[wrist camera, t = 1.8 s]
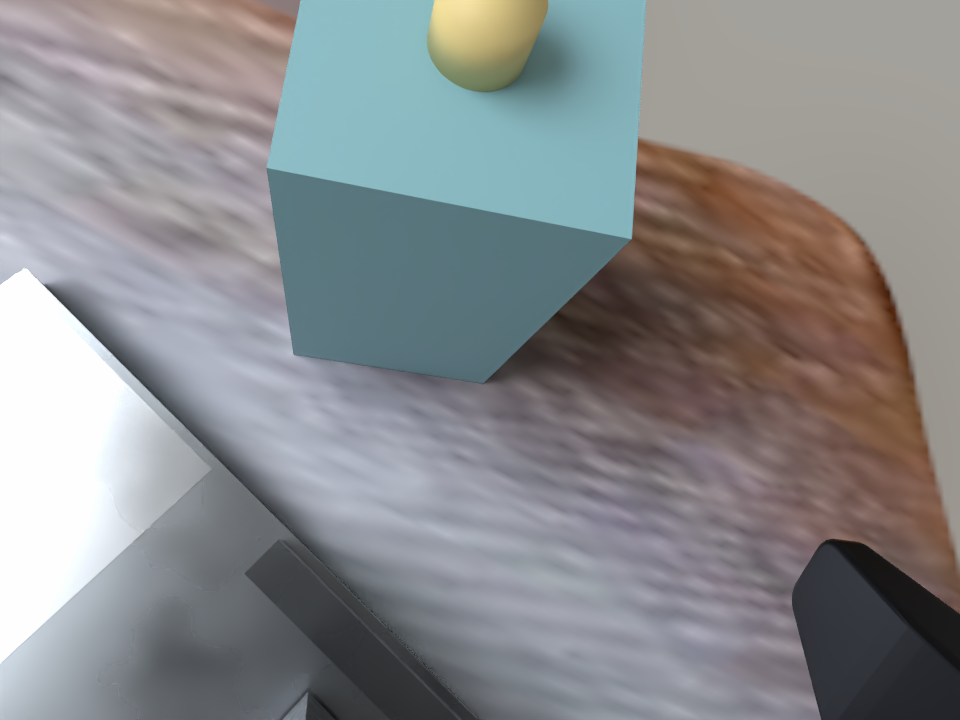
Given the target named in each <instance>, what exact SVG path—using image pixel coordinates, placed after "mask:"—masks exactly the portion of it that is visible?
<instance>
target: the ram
mask: <svg viewBox="0 0 960 720" xmlns="http://www.w3.org/2000/svg"><path fill="white" fill-rule="evenodd" d="M283 720H335V719H334V718H333V717H332V716H331V715H330V714H329V713H328V712H327V711H326V710H325V709H324V708H323V707H322V706H321V705H320V704H319V703H318V702H317V701H316V700H315V699H314V698H313V697H312V696H311V695H310V694H309V693H308V692H307V694H306V695H305V696H304V697H303V698H302V699H301V700H300V701H299V702H298V703H297V704H296V706H295V707H294V708H293V709H292V710H291V711H290V712H289V713H288V714H287V715H286V716H285V718H284V719H283Z"/></svg>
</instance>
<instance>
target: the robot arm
mask: <svg viewBox="0 0 960 720" xmlns="http://www.w3.org/2000/svg"><path fill="white" fill-rule="evenodd" d="M792 607H793V611H794V615H795V619H796V623H797V627H798V631H799V635H800V639H801V642H802V646H803V650H804V654H805V658H806V662H807V666H808V670H809V673H810V677H811V681H812V685H813V689H814V693H815V697H816V701H817V704H818V708H819V712H820V716H821V719H822V720H960V614H959V613H958V612H956V611H955V610H954V609H952V608H951V607H950V606H948V605H947V604H946V603H944V602H943V601H942V600H940V599H939V598H937V597H936V596H935V595H933V594H932V593H931V592H929V591H928V590H927V589H925V588H924V587H922V586H921V585H920V584H918V583H917V582H916V581H914V580H913V579H912V578H910V577H909V576H907V575H906V574H905V573H903V572H902V571H901V570H899V569H898V568H897V567H895V566H894V565H892V564H891V563H890V562H888V561H887V560H886V559H884V558H883V557H882V556H880V555H879V554H877V553H876V552H875V551H873V550H872V549H871V548H869V547H868V546H866V545H864V544H862V543H859V542H854V541H846V540H839V539H829V540H826V541H825V542H823V543H822V544H821V545H820V546H819V547H818V549H817V550H816V552H815V553H814V555H813V557H812V558H811V560H810V561H809V563H808V565H807V566H806V568H805V569H804V571H803V573H802V574H801V576H800V577H799V579H798V581H797V582H796V584H795V586H794V589H793V593H792Z"/></svg>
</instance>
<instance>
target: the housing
mask: <svg viewBox="0 0 960 720" xmlns="http://www.w3.org/2000/svg"><path fill="white" fill-rule="evenodd" d="M645 11H646V0H301V2H300V7H299V12H298V17H297V22H296V26H295V31H294V36H293V41H292V46H291V51H290V56H289V61H288V66H287V71H286V76H285V80H284V85H283V90H282V95H281V100H280V105H279V110H278V115H277V120H276V125H275V130H274V134H273V139H272V144H271V149H270V154H269V159H268V164H267V174H268V181H269V187H270V194H271V201H272V208H273V215H274V222H275V229H276V236H277V243H278V250H279V257H280V264H281V271H282V278H283V285H284V291H285V298H286V305H287V312H288V319H289V326H290V333H291V340H292V347H293V354H294V355H301V356H307V357H314V358H320V359H327V360H333V361H340V362H346V363H353V364H359V365H366V366H372V367H378V368H385V369H391V370H398V371H404V372H411V373H417V374H424V375H430V376H437V377H443V378H450V379H456V380H463V381H469V382H476V383H482V384H483V383H484V382H485V381H486V380H487V379H488V378H489V377H490V376H491V375H493V374H494V373H495V372H496V371H497V370H498V369H499V368H500V367H501V366H502V365H503V364H504V363H505V362H506V361H507V360H508V359H509V358H510V357H511V356H512V355H513V354H514V353H515V352H516V351H517V350H518V349H519V348H520V347H521V346H522V345H523V344H524V343H525V342H526V341H527V340H529V339H530V338H531V337H532V336H533V335H534V334H535V333H536V332H537V331H538V330H539V329H540V328H541V327H542V326H543V325H544V324H545V323H546V322H547V321H548V320H549V319H550V318H551V317H552V316H553V315H554V314H555V313H556V312H557V311H558V310H559V309H560V308H561V307H562V306H564V305H565V304H566V303H567V302H568V301H569V300H570V299H571V298H572V297H573V296H574V295H575V294H576V293H577V292H578V291H579V290H580V289H581V288H582V287H583V286H584V285H585V284H586V283H587V282H588V281H589V280H590V279H591V278H592V277H593V276H594V275H595V274H596V273H597V272H599V271H600V270H601V269H602V268H603V267H604V266H605V265H606V264H607V263H608V262H609V261H610V260H611V259H612V258H613V257H614V256H615V255H616V254H617V253H618V252H619V251H620V250H621V249H622V248H623V247H624V246H625V245H626V244H627V243H628V242H629V241H630V240H631V239H632V227H633V211H634V194H635V177H636V161H637V144H638V128H639V111H640V94H641V77H642V61H643V45H644V27H645Z"/></svg>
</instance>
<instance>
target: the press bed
mask: <svg viewBox="0 0 960 720" xmlns="http://www.w3.org/2000/svg"><path fill="white" fill-rule="evenodd" d="M307 692H308V693H309V694H310V695H311V696H312V697H313V698H314V699H315V700H316V701H317V702H318V703H319V704H320V705H321V706H322V707H323V708H324V709H325V710H326V711H327V712H328V713H329V714H330V715H331V716H332V717H333V718H334V719H335V720H479V719H478V718H477V717H476V716H475V715H474V714H473V713H472V712H471V711H470V710H469V709H468V708H467V707H466V706H465V705H464V704H463V703H462V702H461V701H460V700H459V699H458V698H457V697H456V696H455V695H454V694H453V693H452V692H451V691H450V690H449V689H448V688H447V687H446V686H445V685H444V684H443V683H442V682H441V681H440V680H439V679H438V678H437V677H436V676H435V675H434V674H433V673H432V672H431V671H430V670H429V669H428V668H427V667H426V666H425V665H424V664H423V663H422V662H421V661H420V660H419V659H418V658H417V657H416V656H415V655H414V654H413V653H412V652H411V651H410V650H409V649H408V648H407V647H406V646H405V645H404V644H403V643H402V642H401V641H400V640H399V639H398V638H397V637H396V636H395V635H394V634H393V633H392V632H391V631H390V630H389V629H388V628H387V627H386V626H385V625H384V624H383V623H382V622H381V621H380V620H379V619H378V618H377V617H376V616H375V615H374V614H373V613H372V612H371V611H370V610H369V609H368V608H367V607H366V606H365V605H364V604H363V603H362V602H361V601H360V600H359V599H358V598H357V597H356V596H355V595H354V594H353V593H352V592H351V591H350V590H349V589H348V588H347V587H346V586H345V585H344V584H343V583H342V582H341V581H340V580H339V579H338V578H337V577H336V576H335V575H334V574H333V573H332V572H331V571H330V570H329V569H328V568H327V567H326V566H325V565H324V564H323V563H322V562H321V561H320V560H319V559H318V558H317V557H316V556H315V555H314V554H313V553H312V552H311V551H310V550H309V549H308V548H307V547H306V546H305V545H304V544H303V543H302V542H301V541H300V540H299V539H298V538H297V537H296V536H295V535H294V534H293V533H292V532H291V531H290V530H289V529H288V528H287V527H286V526H285V525H284V524H283V523H282V522H281V521H280V520H279V519H278V518H277V517H276V516H275V515H274V514H273V513H272V512H271V511H270V510H269V509H268V508H267V507H266V506H265V505H264V504H263V503H262V502H261V501H260V500H259V499H258V498H257V497H256V496H255V495H254V494H253V493H252V492H251V491H250V490H249V489H248V488H247V487H246V486H245V485H244V484H243V483H242V482H241V481H240V480H239V479H238V478H237V477H236V476H235V475H234V474H233V473H232V472H231V471H230V470H229V469H228V468H227V467H226V466H225V465H224V464H223V463H222V462H221V461H220V460H219V459H218V458H217V457H216V456H215V455H214V454H213V453H212V452H211V451H210V450H209V449H208V448H207V447H206V446H205V445H204V444H203V443H202V442H201V441H200V440H199V439H198V438H197V437H196V436H195V435H194V434H193V433H192V432H191V431H190V430H189V429H188V428H187V427H186V426H185V425H183V424H182V423H181V422H180V421H179V420H178V419H177V418H176V417H175V416H174V415H173V414H172V413H171V412H170V411H169V410H168V409H167V408H166V407H165V406H164V405H163V404H162V403H161V402H160V401H159V400H158V399H157V398H156V397H155V396H154V395H153V394H152V393H151V392H150V391H149V390H148V389H147V388H146V387H145V386H144V385H143V384H142V383H141V382H140V381H139V380H138V379H137V378H136V377H135V376H134V375H133V374H132V373H131V372H130V371H129V370H128V369H127V368H126V367H125V366H124V365H123V364H122V363H121V362H120V361H119V360H118V359H117V358H116V357H115V356H114V355H113V354H112V353H111V352H110V351H109V350H108V349H107V348H106V347H105V346H104V345H103V344H102V343H101V342H100V341H99V340H98V339H97V338H96V337H95V336H94V335H93V334H92V333H91V332H90V331H89V330H88V329H87V328H86V327H85V326H84V325H83V324H82V323H81V322H80V321H79V320H78V319H77V318H76V317H75V316H74V315H73V314H72V313H71V312H70V311H69V310H68V309H67V308H66V307H65V306H64V305H63V304H62V303H61V302H60V301H59V300H58V299H57V298H56V297H55V296H54V295H53V294H52V293H51V292H50V291H49V290H48V289H47V288H46V287H45V286H44V285H43V284H42V283H41V282H40V281H39V280H38V279H37V278H36V277H35V276H34V275H33V274H32V273H30V272H29V271H28V270H27V269H26V268H24V269H23V270H21V271H20V272H19V273H17V274H15V275H14V276H13V277H11V278H10V279H9V280H7V281H6V282H4V283H3V284H2V285H0V720H283V719H284V718H285V716H286V715H287V714H288V713H289V712H290V711H291V710H292V709H293V708H294V707H295V706H296V704H297V703H298V702H299V701H300V700H301V699H302V698H303V697H304V696H305V695H306V694H307Z"/></svg>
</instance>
